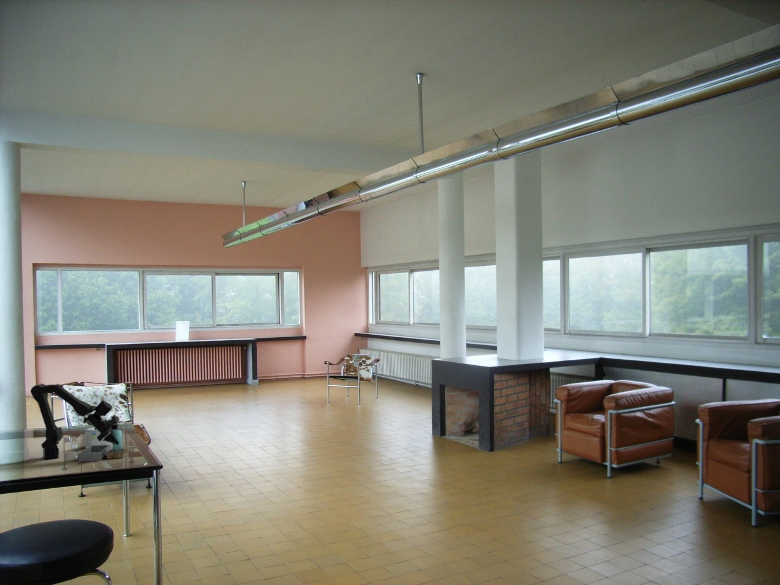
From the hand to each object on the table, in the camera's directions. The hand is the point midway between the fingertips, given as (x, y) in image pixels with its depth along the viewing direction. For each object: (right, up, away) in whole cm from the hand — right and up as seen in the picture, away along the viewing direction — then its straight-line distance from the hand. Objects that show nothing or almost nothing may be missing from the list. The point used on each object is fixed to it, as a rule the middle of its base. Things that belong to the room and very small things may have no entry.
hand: (119, 442), depth 330 cm
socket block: (-1, -7, 0) cm, 7 cm away
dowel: (-1, -7, 0) cm, 7 cm away
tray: (-12, -7, -1) cm, 14 cm away
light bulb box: (-21, -7, +20) cm, 30 cm away
